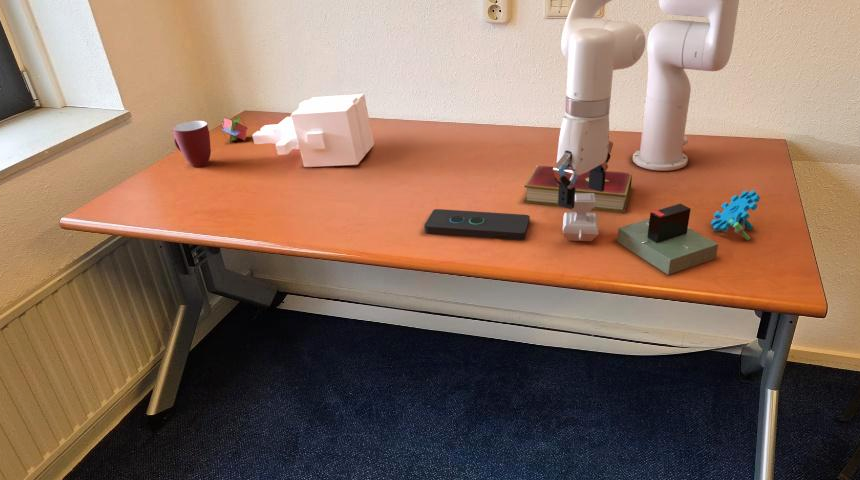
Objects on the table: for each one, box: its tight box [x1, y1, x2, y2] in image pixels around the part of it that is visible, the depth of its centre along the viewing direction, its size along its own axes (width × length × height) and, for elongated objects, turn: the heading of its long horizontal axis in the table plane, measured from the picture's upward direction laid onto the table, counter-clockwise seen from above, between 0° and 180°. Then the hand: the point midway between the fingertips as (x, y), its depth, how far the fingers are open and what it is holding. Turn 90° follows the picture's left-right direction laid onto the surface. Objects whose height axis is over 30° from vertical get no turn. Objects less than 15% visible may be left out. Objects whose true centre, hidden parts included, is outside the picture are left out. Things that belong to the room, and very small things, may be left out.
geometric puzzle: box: [220, 115, 249, 144], centre depth 180 cm, size 7×7×8 cm
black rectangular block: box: [647, 203, 692, 243], centre depth 118 cm, size 7×3×5 cm, turn 117°
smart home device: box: [423, 208, 531, 241], centre depth 131 cm, size 8×2×20 cm
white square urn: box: [562, 193, 599, 242], centre depth 125 cm, size 9×7×8 cm
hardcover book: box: [523, 164, 633, 213], centre depth 142 cm, size 12×21×4 cm, turn 72°
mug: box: [172, 120, 212, 168], centre depth 165 cm, size 11×8×10 cm
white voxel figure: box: [251, 93, 375, 168], centre depth 165 cm, size 15×25×28 cm
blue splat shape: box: [710, 189, 761, 241], centre depth 125 cm, size 11×6×10 cm
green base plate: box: [616, 218, 719, 276], centre depth 120 cm, size 14×11×3 cm
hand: (581, 197), depth 122 cm, fingers open, 9 cm apart
